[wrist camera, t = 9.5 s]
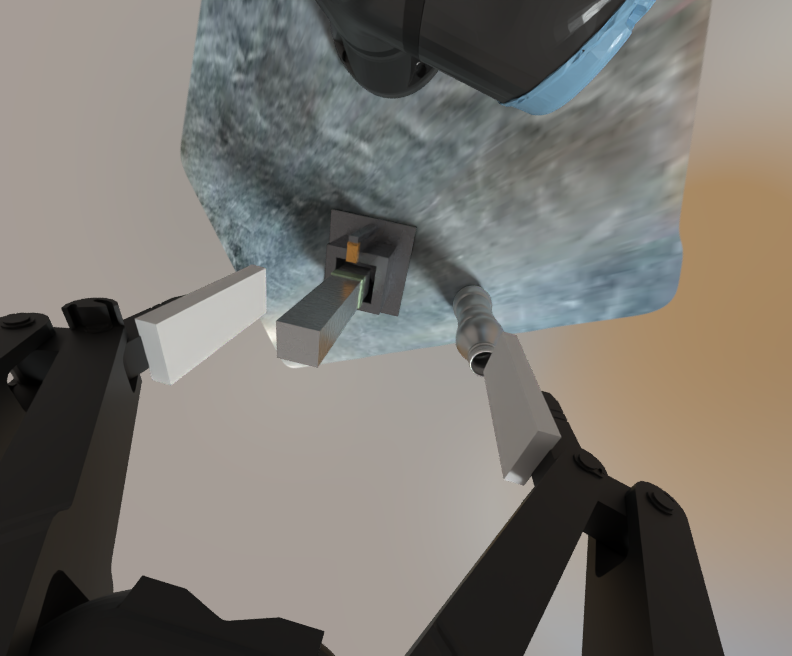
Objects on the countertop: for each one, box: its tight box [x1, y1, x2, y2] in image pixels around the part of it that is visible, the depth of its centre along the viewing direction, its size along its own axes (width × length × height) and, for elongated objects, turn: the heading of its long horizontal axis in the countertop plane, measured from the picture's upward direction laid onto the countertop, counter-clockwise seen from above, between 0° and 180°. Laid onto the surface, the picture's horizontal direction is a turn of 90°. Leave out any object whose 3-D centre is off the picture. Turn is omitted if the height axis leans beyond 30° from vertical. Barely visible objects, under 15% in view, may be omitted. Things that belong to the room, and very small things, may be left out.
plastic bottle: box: [453, 285, 504, 377], centre depth 41 cm, size 6×7×20 cm
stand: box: [325, 209, 417, 316], centre depth 44 cm, size 16×14×12 cm
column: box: [276, 263, 371, 367], centre depth 34 cm, size 5×4×20 cm
